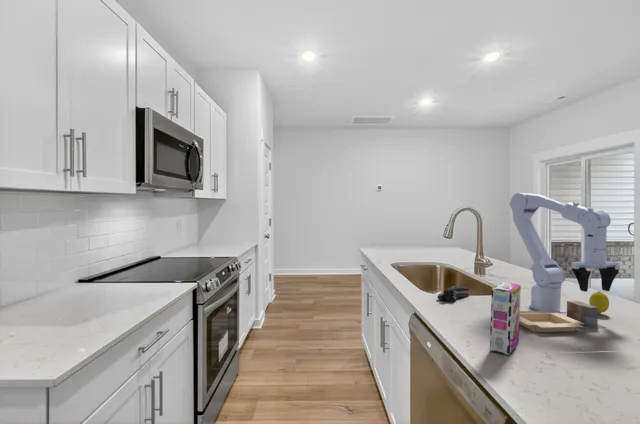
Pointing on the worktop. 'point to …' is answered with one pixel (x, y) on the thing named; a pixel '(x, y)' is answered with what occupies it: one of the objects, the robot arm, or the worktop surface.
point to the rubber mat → (592, 327)
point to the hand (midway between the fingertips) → (594, 290)
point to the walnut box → (583, 313)
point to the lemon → (599, 301)
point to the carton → (547, 321)
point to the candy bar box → (505, 318)
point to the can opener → (453, 293)
